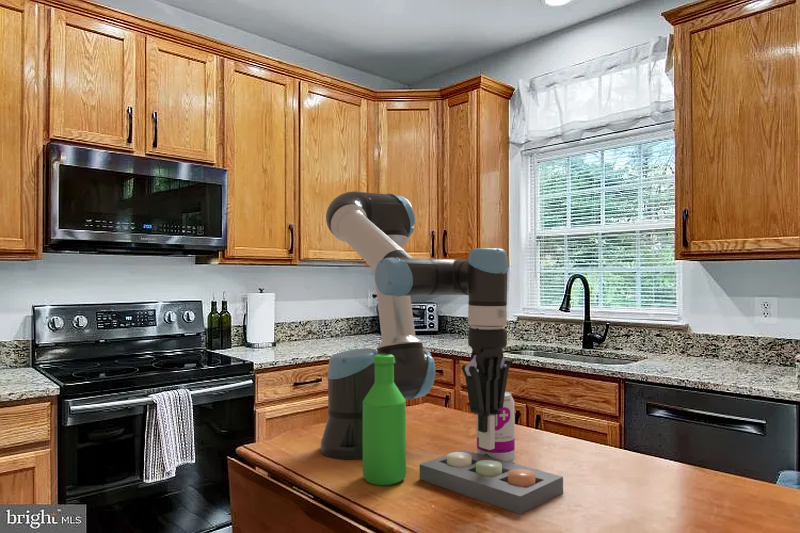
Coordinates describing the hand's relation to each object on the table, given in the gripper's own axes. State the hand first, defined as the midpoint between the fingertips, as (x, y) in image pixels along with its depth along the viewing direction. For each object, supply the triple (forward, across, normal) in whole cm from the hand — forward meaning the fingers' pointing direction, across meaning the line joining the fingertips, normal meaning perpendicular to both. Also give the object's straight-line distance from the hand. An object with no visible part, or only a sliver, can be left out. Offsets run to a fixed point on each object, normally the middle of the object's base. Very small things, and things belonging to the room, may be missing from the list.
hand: (486, 447), depth 110 cm
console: (+7, 0, -1) cm, 7 cm away
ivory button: (+7, 0, +7) cm, 10 cm away
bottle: (+8, -12, +16) cm, 22 cm away
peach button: (+6, 0, -8) cm, 10 cm away
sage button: (+7, 0, -1) cm, 7 cm away
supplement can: (+8, +13, +7) cm, 17 cm away
